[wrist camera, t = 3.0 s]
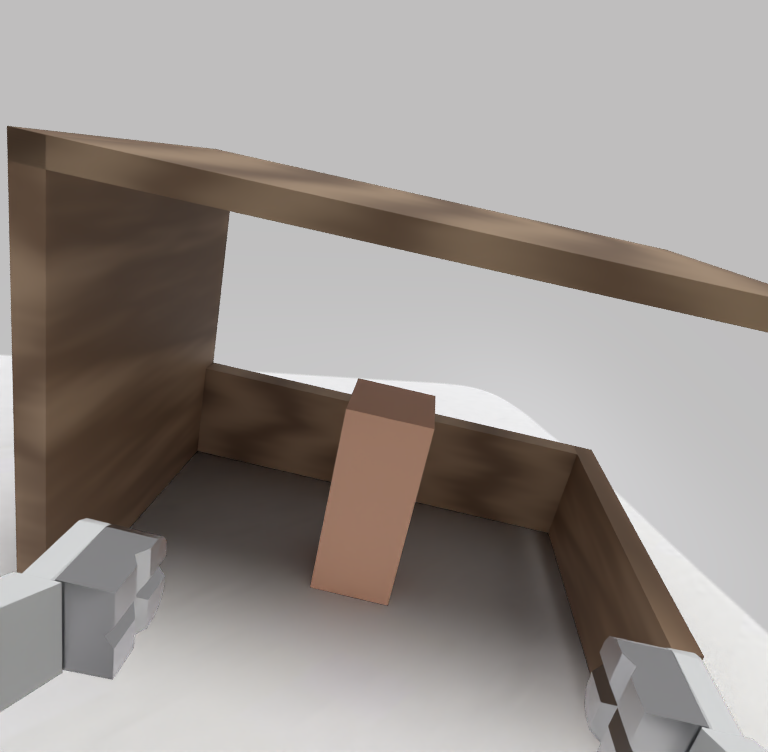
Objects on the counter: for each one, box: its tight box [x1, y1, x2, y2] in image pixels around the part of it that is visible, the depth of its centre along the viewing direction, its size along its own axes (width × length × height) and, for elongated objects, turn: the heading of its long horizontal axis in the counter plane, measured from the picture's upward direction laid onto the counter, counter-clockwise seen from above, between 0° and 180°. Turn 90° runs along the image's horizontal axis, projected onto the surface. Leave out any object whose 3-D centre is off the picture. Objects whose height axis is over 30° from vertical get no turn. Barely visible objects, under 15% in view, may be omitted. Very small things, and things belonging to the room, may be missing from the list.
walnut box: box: [7, 126, 768, 675], centre depth 28 cm, size 26×17×19 cm, turn 84°
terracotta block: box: [310, 378, 435, 606], centre depth 29 cm, size 4×4×10 cm
